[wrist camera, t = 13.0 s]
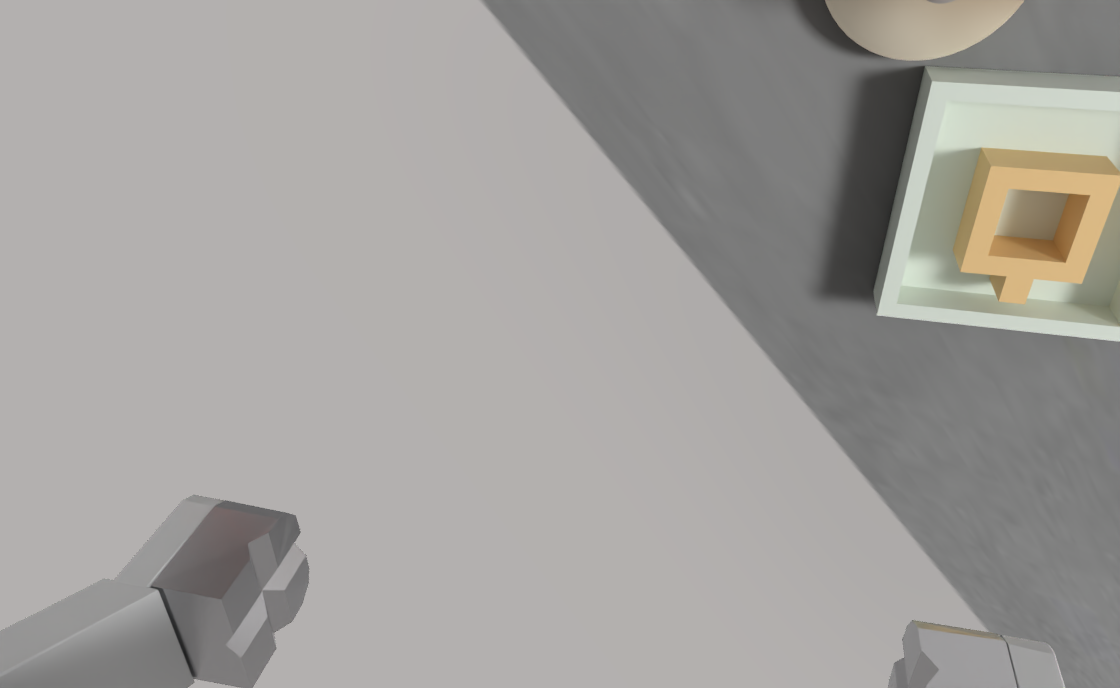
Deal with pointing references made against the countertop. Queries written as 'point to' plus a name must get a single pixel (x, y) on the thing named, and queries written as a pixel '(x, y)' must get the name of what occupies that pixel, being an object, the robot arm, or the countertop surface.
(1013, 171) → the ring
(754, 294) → the countertop surface
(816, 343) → the countertop surface
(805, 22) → the countertop surface
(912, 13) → the stand
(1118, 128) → the tray
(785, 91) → the countertop surface
